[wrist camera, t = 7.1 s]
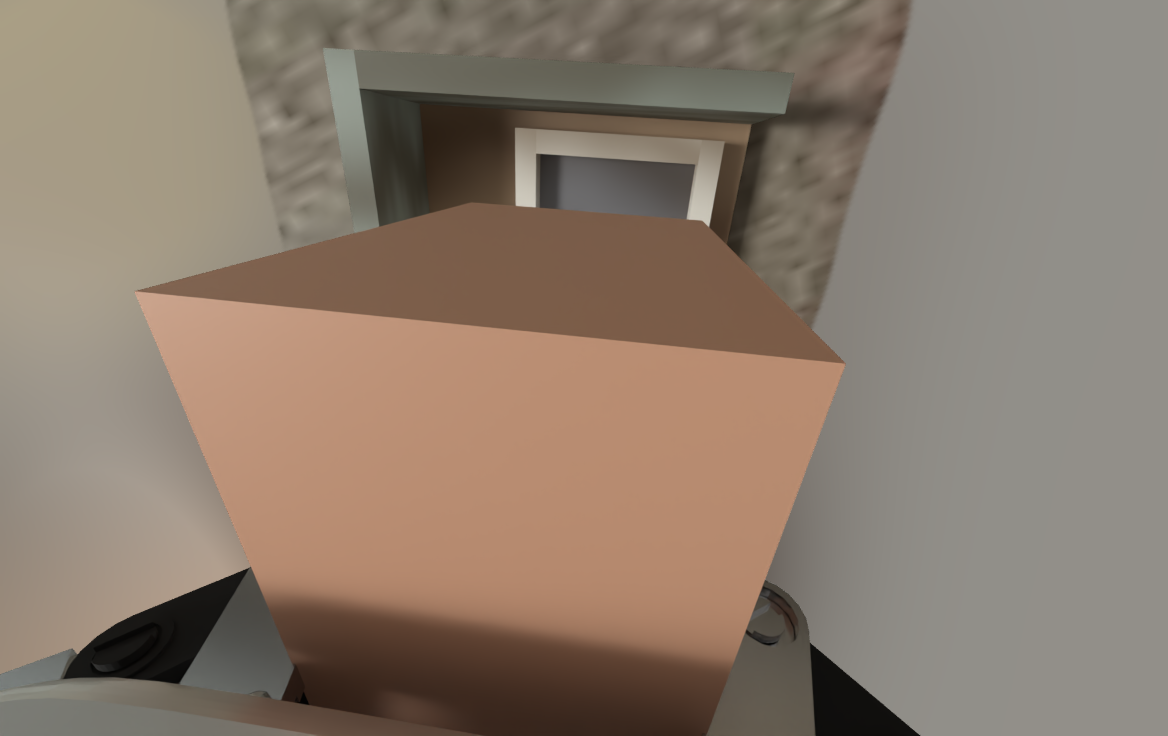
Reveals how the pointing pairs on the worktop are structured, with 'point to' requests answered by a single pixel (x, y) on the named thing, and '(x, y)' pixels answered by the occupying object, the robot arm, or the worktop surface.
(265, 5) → the worktop surface
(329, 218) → the worktop surface
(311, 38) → the worktop surface
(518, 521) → the block
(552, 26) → the worktop surface
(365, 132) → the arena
